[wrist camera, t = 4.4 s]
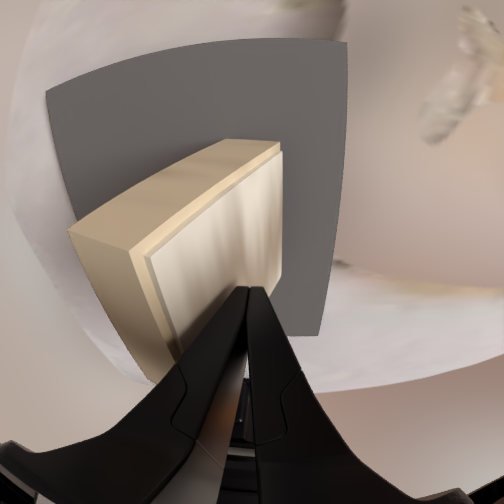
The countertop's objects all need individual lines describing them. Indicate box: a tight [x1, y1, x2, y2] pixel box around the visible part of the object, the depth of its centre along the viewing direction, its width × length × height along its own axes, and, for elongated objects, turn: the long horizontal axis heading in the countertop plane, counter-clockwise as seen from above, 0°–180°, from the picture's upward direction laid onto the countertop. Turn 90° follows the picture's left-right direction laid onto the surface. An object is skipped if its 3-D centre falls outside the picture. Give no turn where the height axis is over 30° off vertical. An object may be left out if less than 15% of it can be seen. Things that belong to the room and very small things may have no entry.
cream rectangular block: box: [67, 139, 283, 384], centre depth 10 cm, size 7×3×8 cm, turn 3°
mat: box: [46, 38, 348, 336], centre depth 15 cm, size 18×15×1 cm
